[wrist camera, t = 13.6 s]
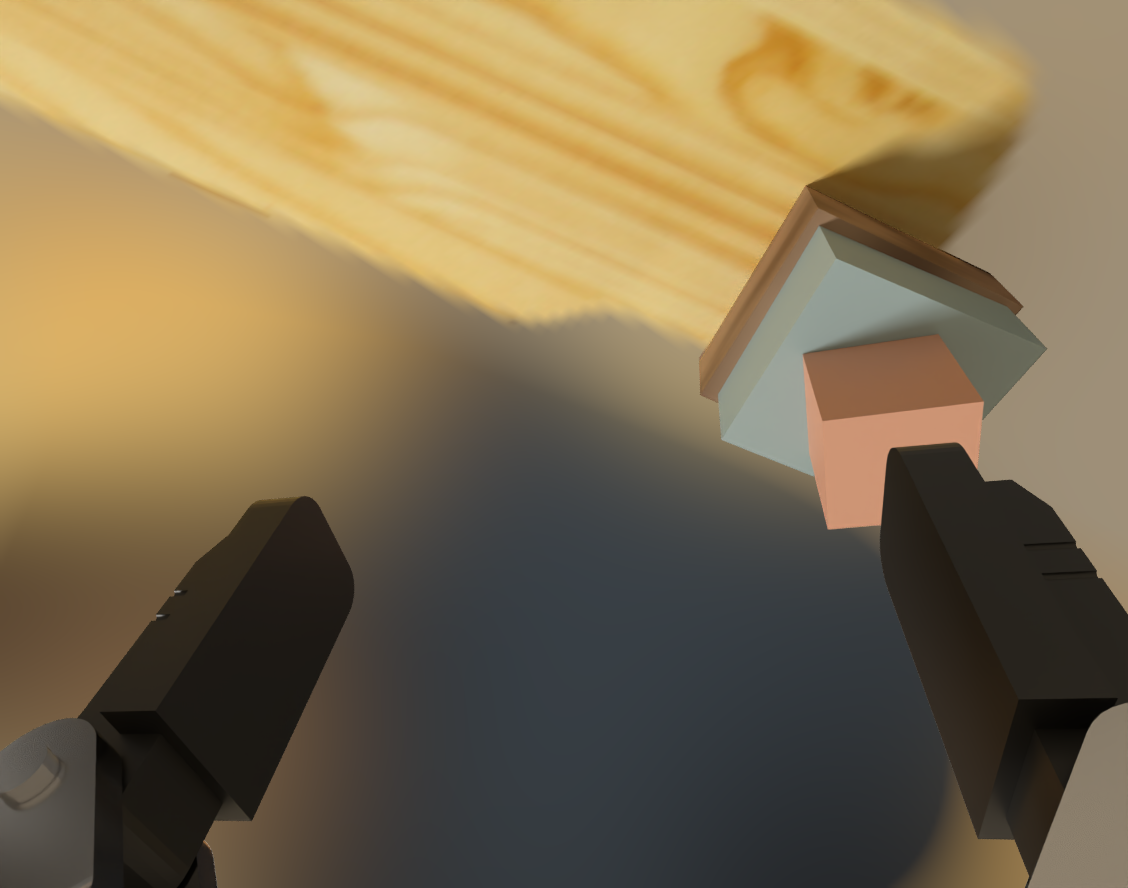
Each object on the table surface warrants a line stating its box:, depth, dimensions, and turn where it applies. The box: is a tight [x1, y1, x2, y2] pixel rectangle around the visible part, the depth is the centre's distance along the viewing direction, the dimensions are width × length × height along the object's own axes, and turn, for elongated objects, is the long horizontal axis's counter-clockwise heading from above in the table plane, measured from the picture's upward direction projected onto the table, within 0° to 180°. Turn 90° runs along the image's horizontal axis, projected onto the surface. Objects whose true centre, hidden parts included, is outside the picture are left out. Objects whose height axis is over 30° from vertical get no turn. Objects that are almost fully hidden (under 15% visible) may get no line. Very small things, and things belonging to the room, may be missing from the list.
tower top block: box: [718, 226, 1047, 477], centre depth 30 cm, size 9×9×4 cm
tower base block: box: [699, 186, 1023, 403], centre depth 33 cm, size 10×10×4 cm
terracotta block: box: [803, 334, 984, 529], centre depth 26 cm, size 5×5×5 cm
